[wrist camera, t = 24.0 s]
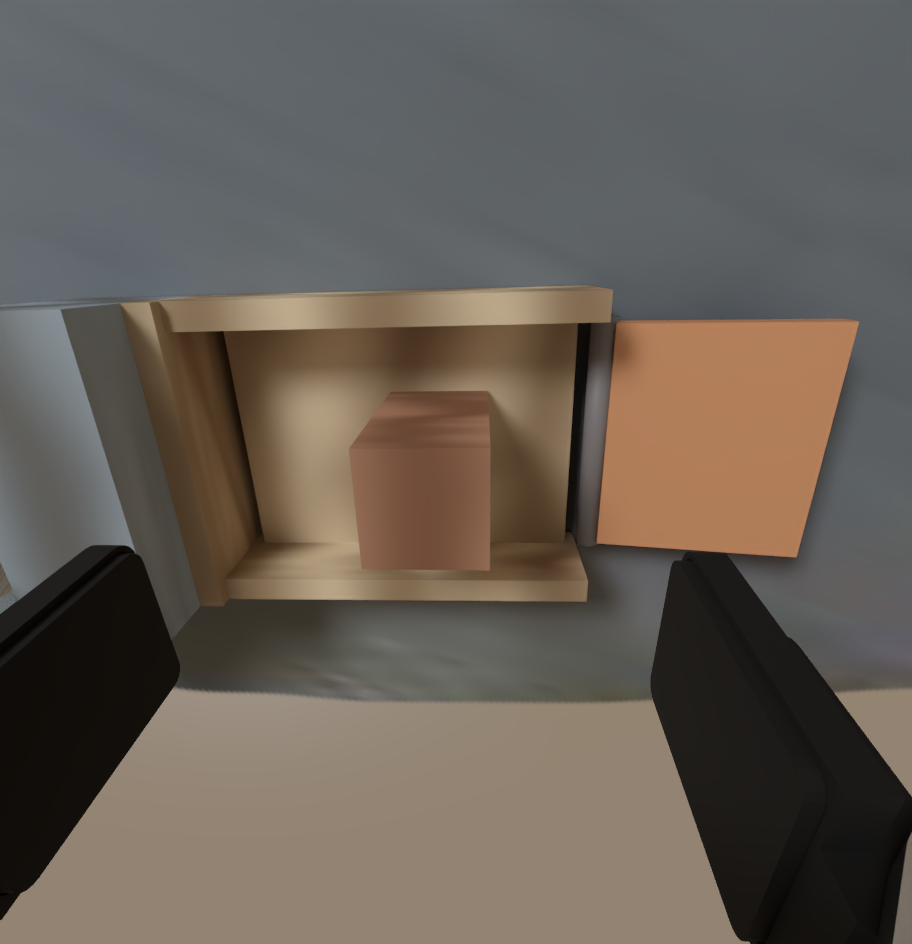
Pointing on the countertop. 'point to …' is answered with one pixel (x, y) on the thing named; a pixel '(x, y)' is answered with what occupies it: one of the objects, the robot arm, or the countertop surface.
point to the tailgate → (707, 431)
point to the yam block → (424, 482)
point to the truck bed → (278, 436)
